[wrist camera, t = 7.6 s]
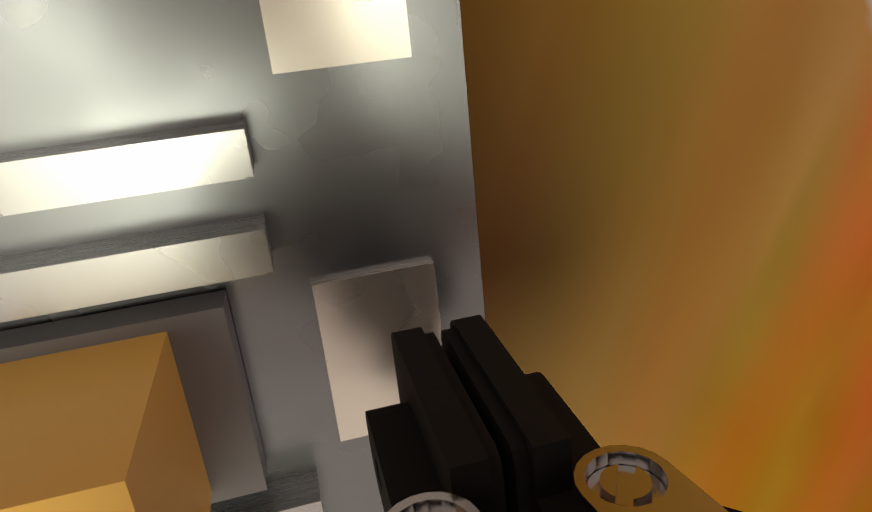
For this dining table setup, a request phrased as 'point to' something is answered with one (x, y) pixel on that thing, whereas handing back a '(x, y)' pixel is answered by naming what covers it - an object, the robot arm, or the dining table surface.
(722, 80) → the dining table surface
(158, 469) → the block
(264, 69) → the breaker board
